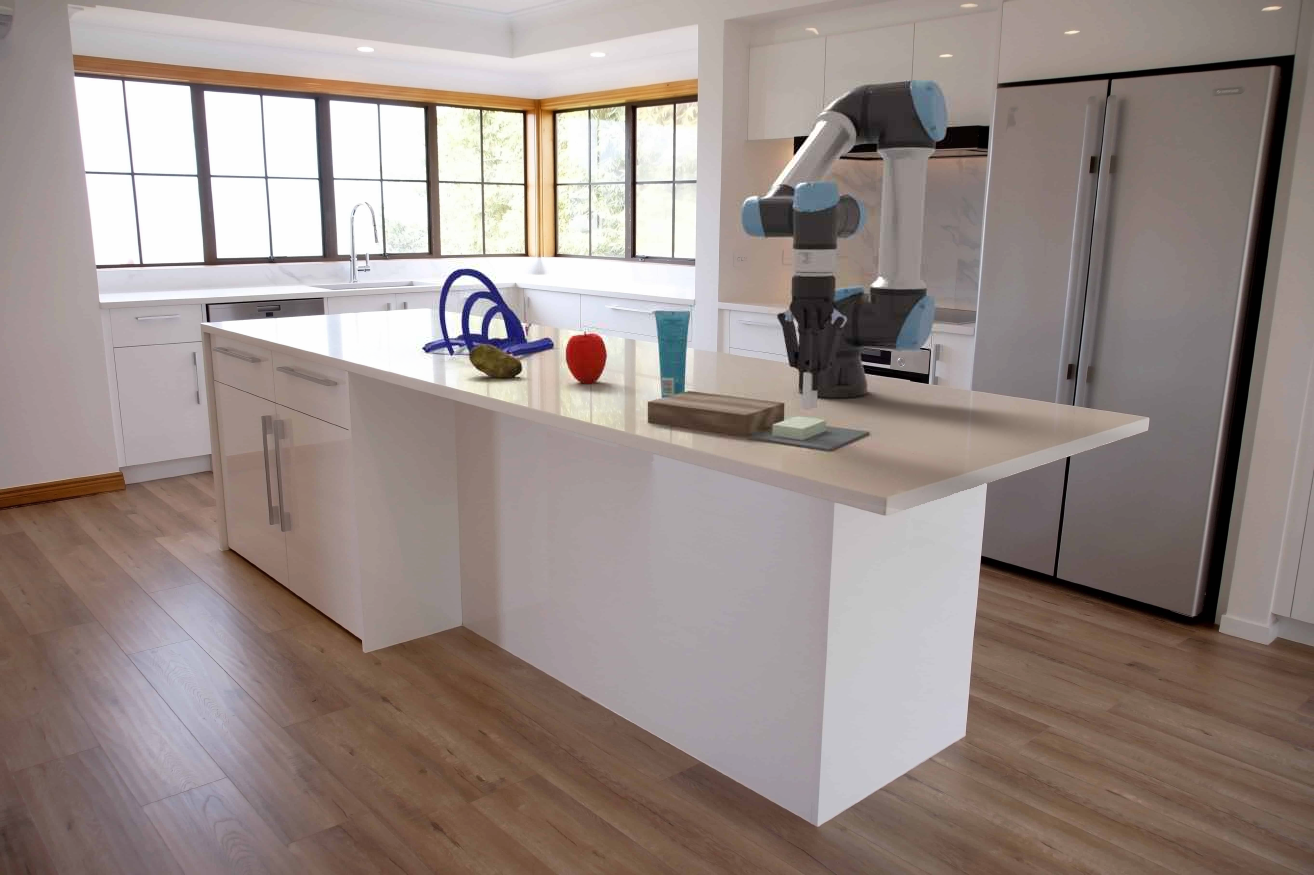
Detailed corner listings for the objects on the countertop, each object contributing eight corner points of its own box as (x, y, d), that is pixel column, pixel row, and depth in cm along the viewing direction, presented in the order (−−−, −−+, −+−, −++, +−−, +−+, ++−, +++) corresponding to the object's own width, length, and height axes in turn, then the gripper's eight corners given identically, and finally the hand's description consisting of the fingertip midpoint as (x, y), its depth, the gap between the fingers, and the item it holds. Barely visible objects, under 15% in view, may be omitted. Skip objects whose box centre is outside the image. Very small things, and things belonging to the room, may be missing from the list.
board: (688, 410, 196) (688, 390, 195) (784, 423, 183) (784, 402, 182) (647, 422, 185) (647, 401, 184) (746, 436, 172) (746, 415, 171)
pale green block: (826, 420, 175) (825, 430, 175) (797, 416, 178) (796, 426, 179) (802, 428, 168) (802, 440, 168) (772, 424, 171) (772, 435, 172)
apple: (584, 377, 236) (583, 327, 234) (616, 381, 231) (615, 330, 228) (557, 383, 228) (556, 331, 226) (589, 387, 223) (588, 334, 220)
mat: (791, 423, 184) (791, 421, 183) (869, 433, 174) (869, 431, 174) (747, 438, 171) (747, 436, 171) (829, 451, 162) (829, 448, 162)
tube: (689, 398, 209) (689, 309, 205) (690, 402, 204) (690, 311, 200) (655, 398, 209) (654, 309, 205) (655, 402, 204) (654, 311, 200)
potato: (504, 381, 231) (502, 348, 229) (464, 377, 238) (463, 344, 236) (526, 376, 238) (525, 344, 236) (487, 372, 245) (486, 341, 243)
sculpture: (509, 360, 262) (499, 264, 257) (405, 365, 275) (394, 274, 270) (569, 347, 293) (560, 261, 289) (473, 352, 307) (463, 270, 302)
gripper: (770, 274, 167) (767, 407, 172) (838, 276, 160) (833, 415, 165) (790, 271, 173) (787, 400, 178) (857, 274, 165) (852, 408, 171)
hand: (809, 407), depth 172 cm, fingers closed
